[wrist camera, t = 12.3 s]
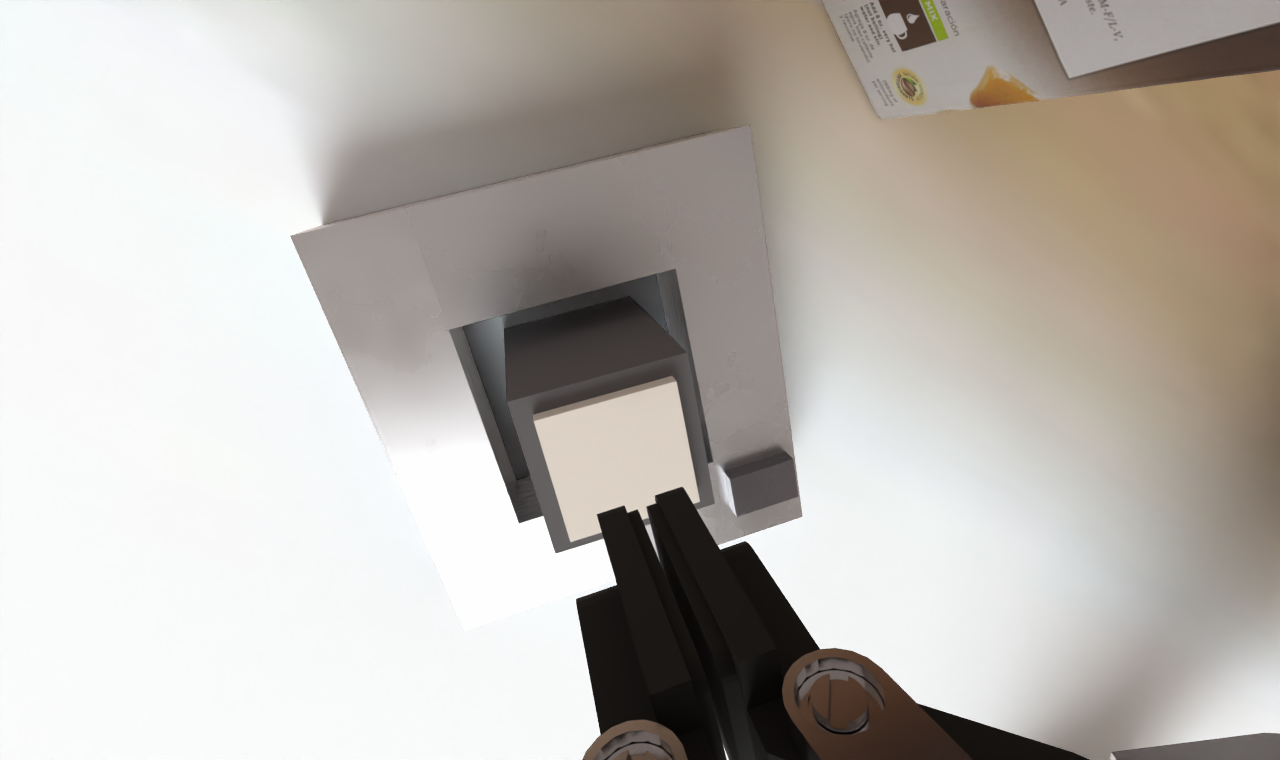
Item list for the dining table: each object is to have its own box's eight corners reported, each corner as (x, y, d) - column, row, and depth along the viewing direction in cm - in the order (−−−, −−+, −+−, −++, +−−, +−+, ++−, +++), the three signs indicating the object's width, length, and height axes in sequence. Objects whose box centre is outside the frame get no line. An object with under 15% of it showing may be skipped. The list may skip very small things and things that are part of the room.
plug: (629, 296, 21) (692, 357, 14) (654, 409, 23) (719, 511, 16) (503, 328, 21) (507, 408, 14) (538, 442, 22) (556, 563, 15)
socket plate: (715, 130, 20) (758, 123, 17) (769, 478, 25) (810, 525, 22) (321, 225, 18) (282, 238, 15) (468, 576, 23) (463, 643, 20)
